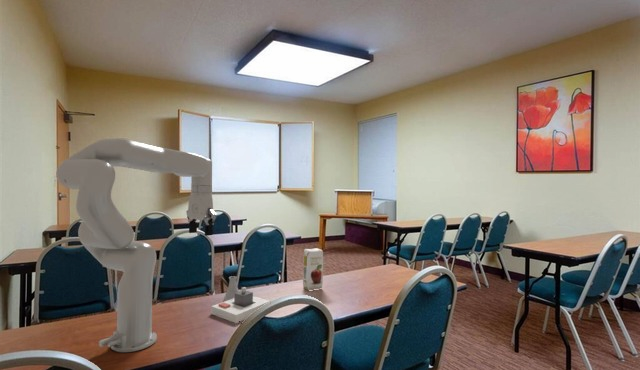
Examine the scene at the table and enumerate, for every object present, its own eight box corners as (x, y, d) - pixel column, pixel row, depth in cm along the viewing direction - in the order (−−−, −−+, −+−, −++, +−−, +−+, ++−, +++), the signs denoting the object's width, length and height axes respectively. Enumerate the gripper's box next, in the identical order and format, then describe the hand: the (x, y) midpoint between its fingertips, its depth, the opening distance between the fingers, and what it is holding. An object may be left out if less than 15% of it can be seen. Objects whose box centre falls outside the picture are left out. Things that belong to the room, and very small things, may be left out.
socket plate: (236, 323, 122) (236, 313, 122) (211, 313, 130) (211, 304, 130) (270, 308, 137) (270, 299, 137) (245, 300, 145) (246, 292, 145)
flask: (220, 301, 144) (220, 277, 143) (231, 296, 150) (232, 274, 150) (233, 304, 140) (233, 280, 140) (244, 299, 147) (245, 276, 146)
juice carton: (301, 287, 164) (302, 248, 164) (316, 285, 168) (317, 247, 168) (308, 292, 158) (309, 251, 158) (324, 289, 162) (325, 250, 162)
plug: (243, 311, 131) (243, 290, 131) (234, 308, 133) (234, 288, 133) (252, 307, 135) (252, 287, 135) (243, 304, 138) (244, 285, 138)
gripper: (179, 189, 134) (178, 232, 134) (207, 190, 124) (206, 237, 124) (196, 189, 140) (195, 230, 140) (223, 190, 130) (223, 235, 130)
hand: (200, 233), depth 132 cm, fingers open, 9 cm apart
